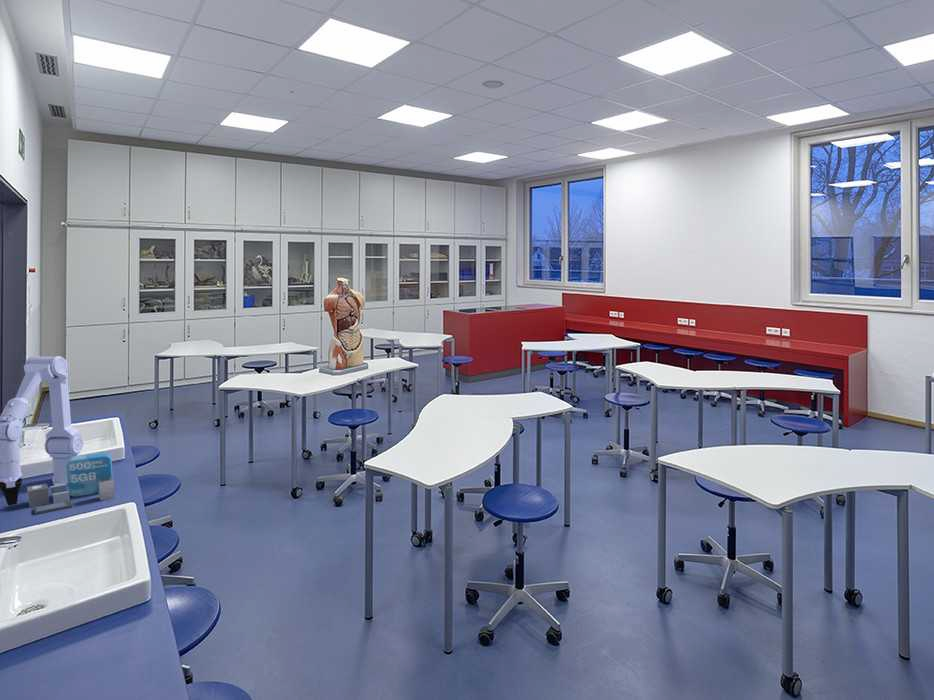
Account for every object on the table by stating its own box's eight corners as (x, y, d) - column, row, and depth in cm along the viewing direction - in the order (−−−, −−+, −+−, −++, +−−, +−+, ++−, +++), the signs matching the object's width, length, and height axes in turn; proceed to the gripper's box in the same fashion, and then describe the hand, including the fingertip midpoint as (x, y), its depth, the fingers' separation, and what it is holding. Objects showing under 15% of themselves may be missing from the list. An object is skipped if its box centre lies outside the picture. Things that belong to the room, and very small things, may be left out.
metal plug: (98, 497, 188) (96, 478, 187) (113, 494, 190) (111, 475, 189) (100, 501, 185) (98, 481, 184) (115, 498, 187) (113, 479, 186)
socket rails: (51, 495, 189) (50, 486, 189) (66, 492, 192) (65, 483, 191) (53, 504, 182) (53, 494, 182) (69, 501, 184) (69, 491, 184)
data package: (68, 497, 187) (65, 461, 186) (70, 493, 191) (67, 457, 190) (113, 491, 193) (110, 455, 191) (113, 487, 197) (110, 451, 195)
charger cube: (28, 502, 184) (26, 486, 183) (48, 498, 187) (46, 483, 186) (29, 507, 180) (27, 491, 179) (49, 503, 183) (47, 487, 182)
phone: (34, 511, 178) (34, 507, 178) (70, 504, 183) (69, 500, 183) (35, 516, 174) (35, 512, 174) (71, 509, 180) (71, 505, 179)
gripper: (-10, 457, 181) (-5, 500, 182) (-9, 469, 169) (-4, 514, 171) (19, 453, 185) (23, 494, 187) (21, 464, 174) (26, 508, 176)
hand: (12, 504), depth 179 cm, fingers closed
